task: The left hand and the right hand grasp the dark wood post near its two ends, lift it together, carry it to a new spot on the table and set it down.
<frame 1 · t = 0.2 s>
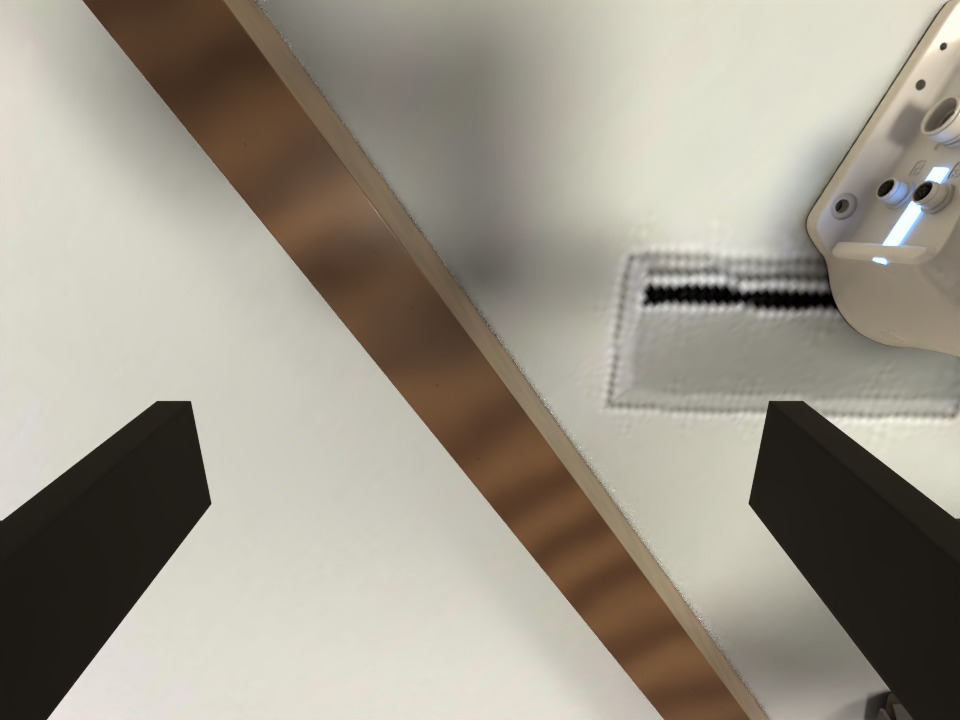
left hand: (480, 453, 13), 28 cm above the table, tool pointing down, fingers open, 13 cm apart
post: (515, 425, 43), on the table
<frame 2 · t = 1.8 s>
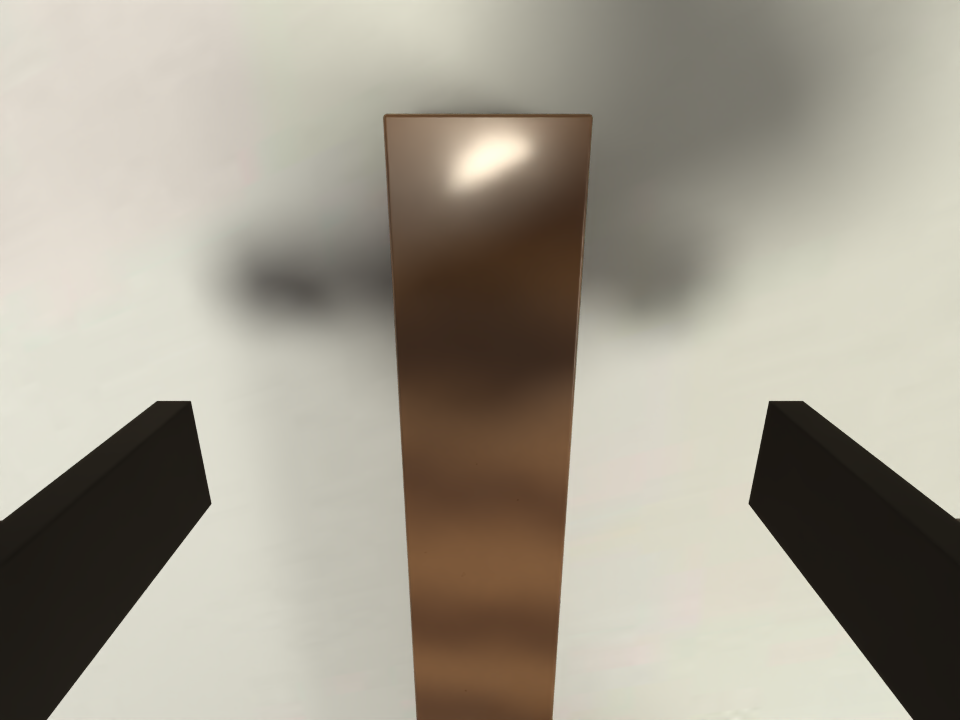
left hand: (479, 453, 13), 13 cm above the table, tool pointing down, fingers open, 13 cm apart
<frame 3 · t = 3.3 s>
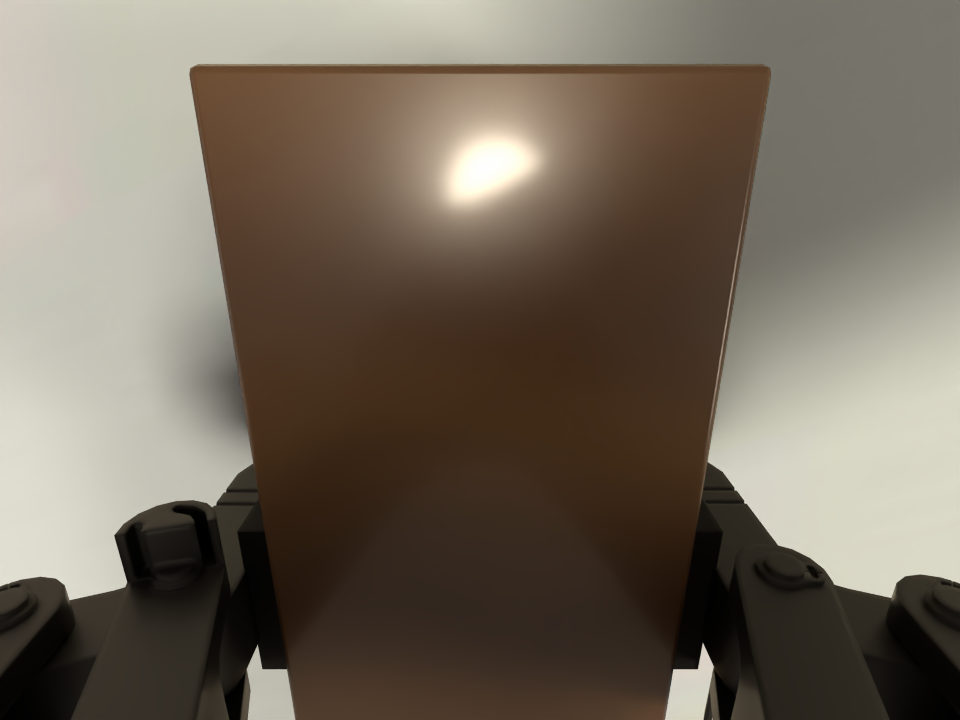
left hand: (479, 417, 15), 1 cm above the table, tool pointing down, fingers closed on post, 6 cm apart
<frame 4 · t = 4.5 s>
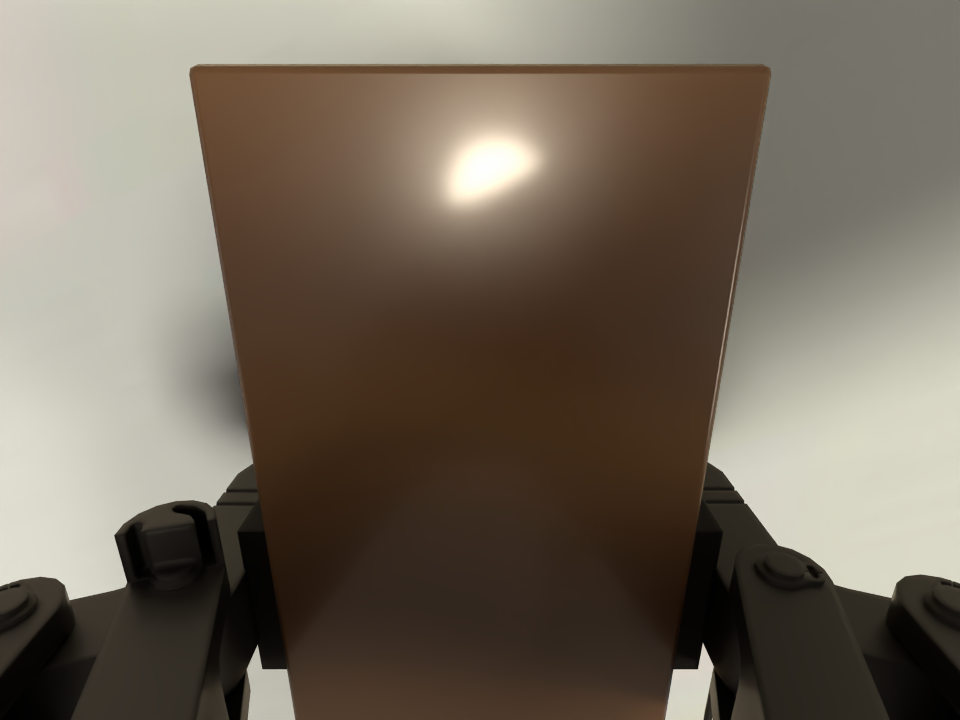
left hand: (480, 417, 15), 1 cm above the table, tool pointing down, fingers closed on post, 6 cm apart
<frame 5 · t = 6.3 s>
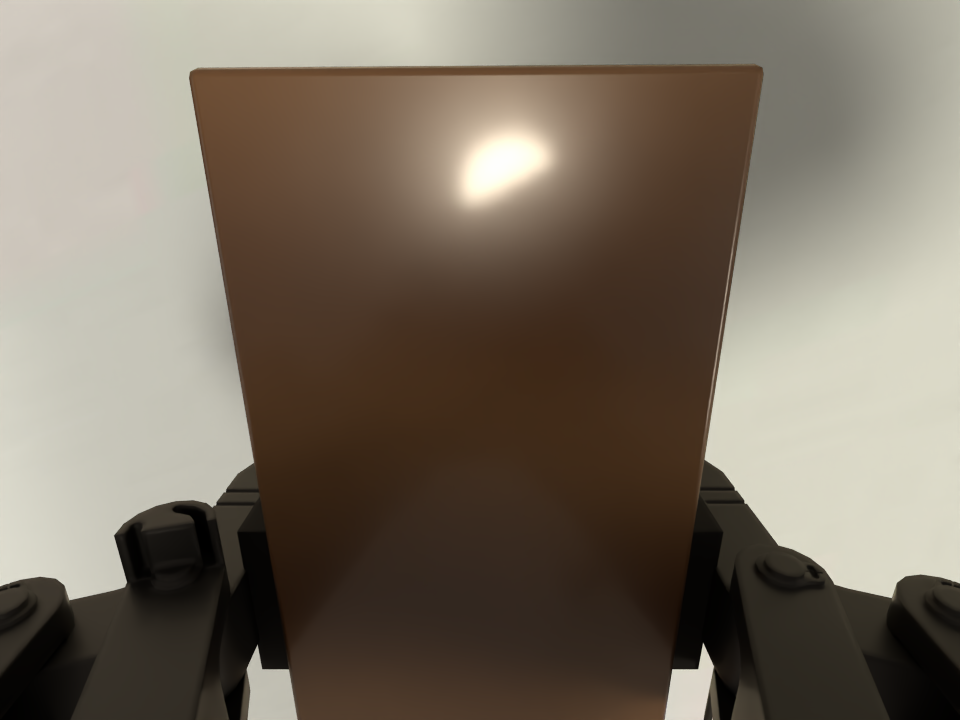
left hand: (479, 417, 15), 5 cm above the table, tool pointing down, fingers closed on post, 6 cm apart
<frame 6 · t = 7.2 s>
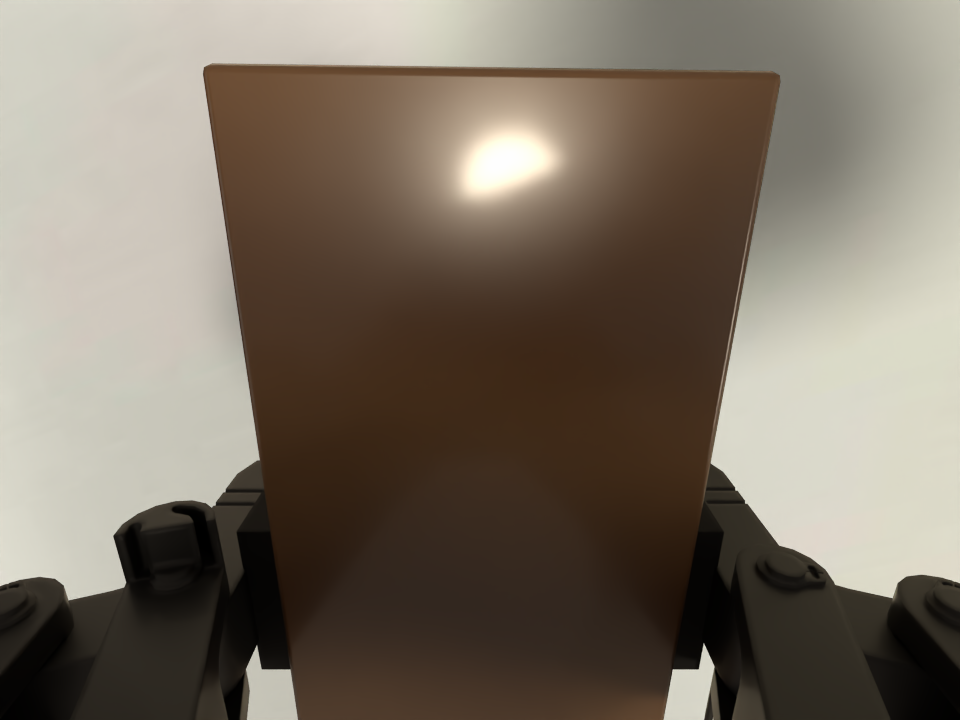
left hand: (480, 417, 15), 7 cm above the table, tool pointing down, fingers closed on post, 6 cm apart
when the left hand's fingers open (2 cm above the table, at t = 9.1 s): post stays where it is, on the table.
when the right hand's fingers open (4 cm above the table, at t = 9.3 s): post stays where it is, on the table.
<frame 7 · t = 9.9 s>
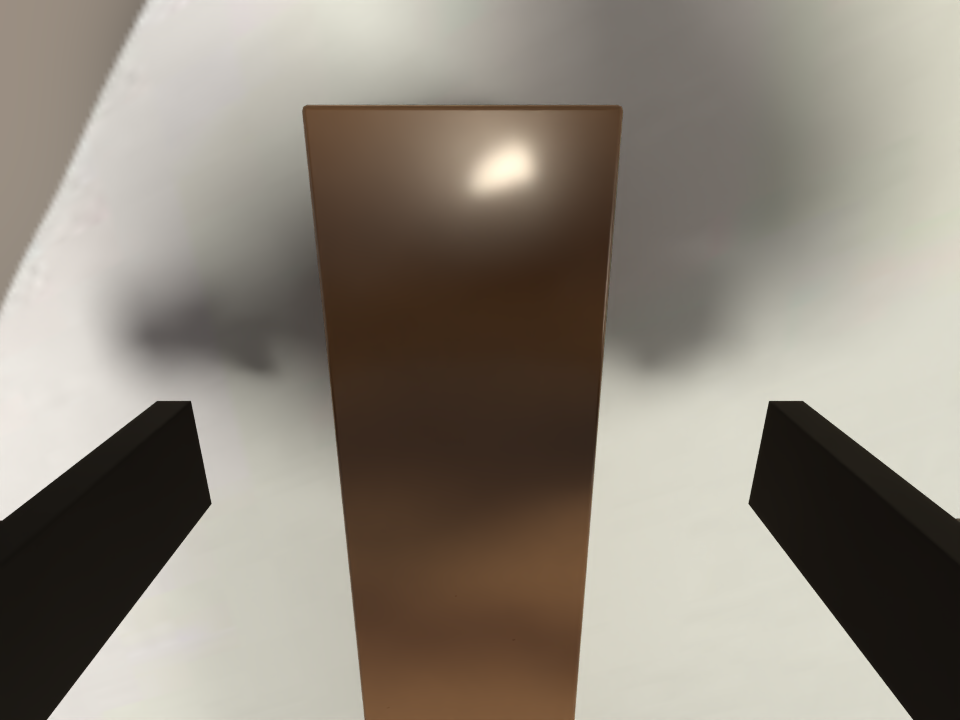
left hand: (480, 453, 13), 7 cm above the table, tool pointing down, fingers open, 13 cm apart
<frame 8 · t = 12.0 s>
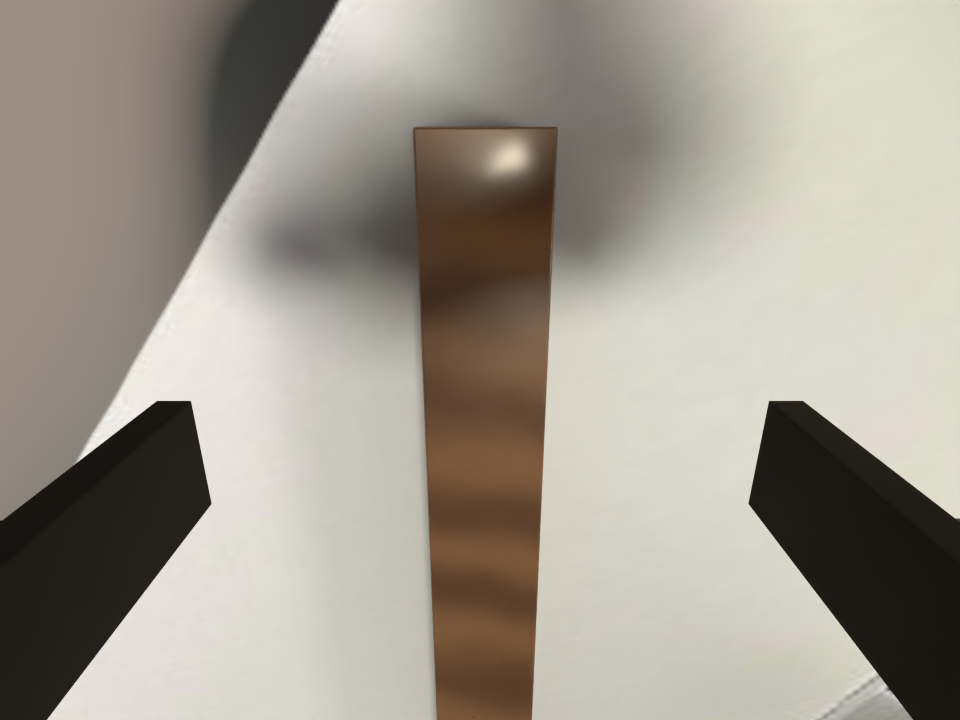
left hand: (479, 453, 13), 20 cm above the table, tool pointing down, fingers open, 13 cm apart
post: (483, 699, 43), on the table
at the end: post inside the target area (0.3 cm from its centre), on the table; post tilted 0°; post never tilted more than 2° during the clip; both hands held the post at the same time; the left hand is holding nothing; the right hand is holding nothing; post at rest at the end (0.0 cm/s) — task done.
